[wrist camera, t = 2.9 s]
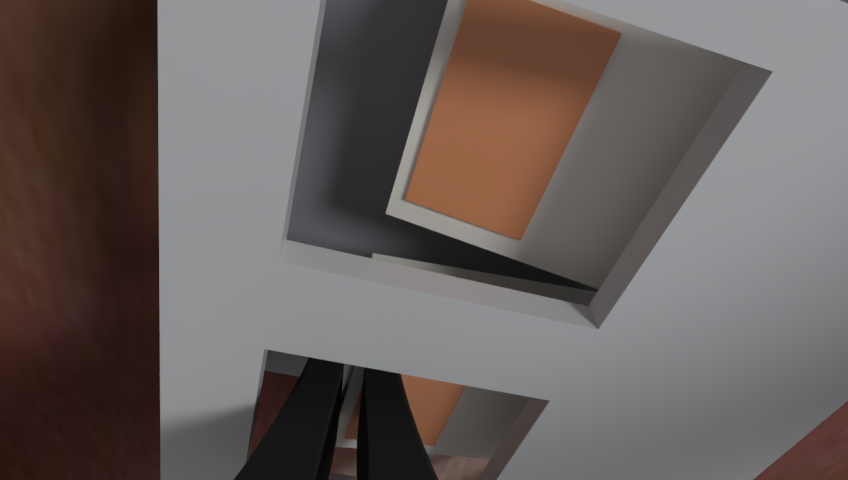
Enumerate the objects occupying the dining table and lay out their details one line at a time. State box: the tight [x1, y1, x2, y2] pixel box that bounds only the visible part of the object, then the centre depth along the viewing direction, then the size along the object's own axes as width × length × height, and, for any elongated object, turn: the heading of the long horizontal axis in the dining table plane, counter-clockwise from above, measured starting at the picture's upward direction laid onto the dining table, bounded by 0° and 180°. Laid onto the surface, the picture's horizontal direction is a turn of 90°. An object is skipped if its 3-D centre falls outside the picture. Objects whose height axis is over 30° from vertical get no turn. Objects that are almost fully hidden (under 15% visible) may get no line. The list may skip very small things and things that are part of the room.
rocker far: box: [335, 253, 597, 459], centre depth 13 cm, size 7×5×2 cm
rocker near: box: [386, 0, 744, 289], centre depth 10 cm, size 7×5×2 cm
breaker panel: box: [158, 0, 848, 480], centre depth 12 cm, size 15×14×7 cm
